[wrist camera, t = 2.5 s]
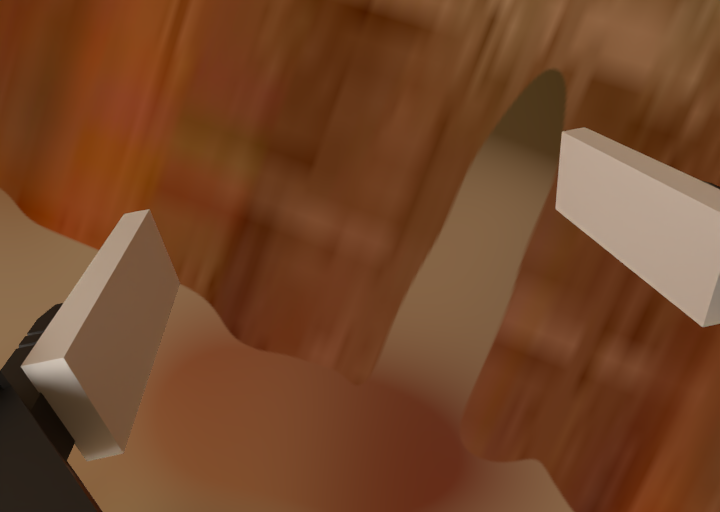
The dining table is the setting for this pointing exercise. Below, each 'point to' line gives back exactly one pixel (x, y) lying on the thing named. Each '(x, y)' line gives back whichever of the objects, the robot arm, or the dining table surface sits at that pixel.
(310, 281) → the dining table surface
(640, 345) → the dining table surface
